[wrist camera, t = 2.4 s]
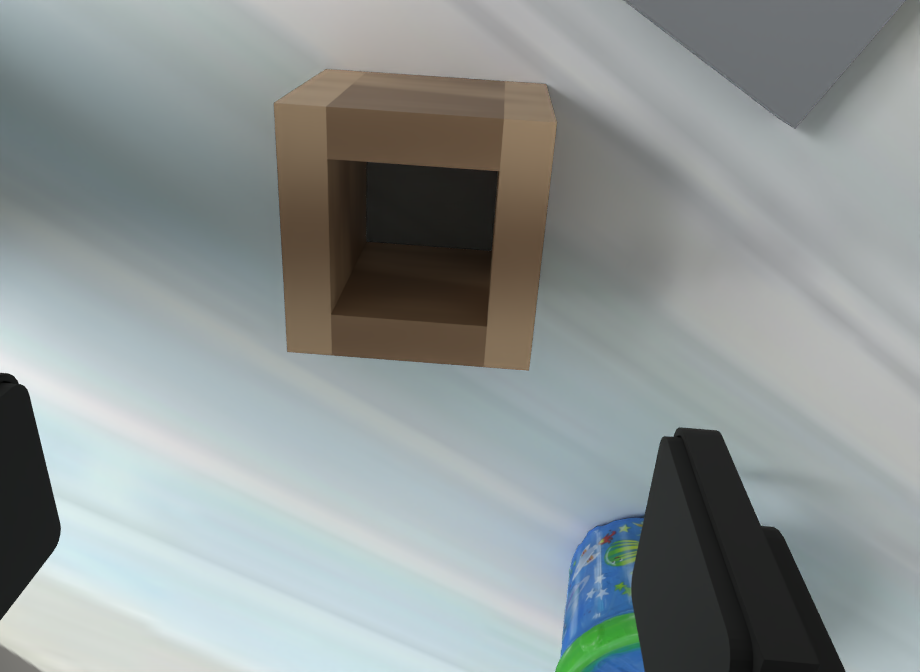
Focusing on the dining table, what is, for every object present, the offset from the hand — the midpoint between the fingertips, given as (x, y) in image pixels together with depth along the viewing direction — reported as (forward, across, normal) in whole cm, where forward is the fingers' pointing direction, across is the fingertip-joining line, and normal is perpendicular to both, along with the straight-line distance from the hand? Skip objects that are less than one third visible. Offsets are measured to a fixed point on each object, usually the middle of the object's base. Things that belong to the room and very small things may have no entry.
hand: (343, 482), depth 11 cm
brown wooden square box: (+16, 0, 0) cm, 16 cm away
